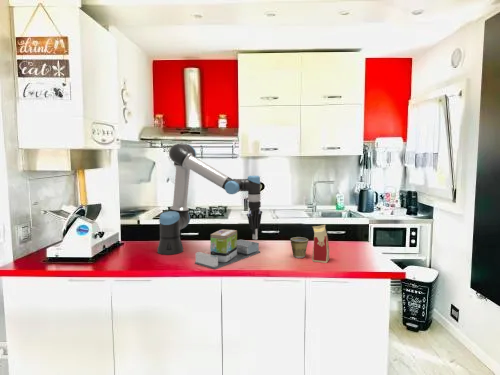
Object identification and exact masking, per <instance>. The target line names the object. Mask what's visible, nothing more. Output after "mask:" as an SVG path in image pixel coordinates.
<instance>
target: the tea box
mask: <svg viewBox="0 0 500 375" xmlns="http://www.w3.org/2000/svg"><path fill="white" fill-rule="evenodd" d="M237 240H238V230H237V229H236V230H235V229H224V228H221V229H219V230H217V231H215V232H213V233H210V250H209V251H210V255H214V256H218V262H227V261H229V260H230V259H232V258H233V257H235V256H236V255H237Z"/></svg>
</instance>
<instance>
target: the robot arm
mask: <svg viewBox="0 0 500 375" xmlns="http://www.w3.org/2000/svg"><path fill="white" fill-rule="evenodd" d="M168 152H169V153H168V155H169V159H170V160H171V161H172V162H173V165H174V167H175V175H174V176H175V177H174V178H175V179H174V190H173V200H172V205H171V206H170V208H169V210H170V211H169V210H168V211H165V212H162V213H160V215H159V220H158V222H159V241H158V245H157V253H158V254H159V255H176V254H180V253H183V252H184V246H183V242H182V240H181V230H182V229H185V228H186V227H187V226H188V225H189V224H190V222H191V214H190V213H189V210H190V209H189V207H188V206H187V205H188V195H189V185H190V184H189V183H190V172H191V171H192V172H194V173H195V174H197V175H199V176H201V177H203V178H204V179H206V180H208V181H209V182H211V183H213V184H215V185H216V186H217V187H219V188H221V189H223V190H224V191H225V192H226V193H227V194H228V195H235V194H237V193H239V192H247V200H248V202H247V203H248V206H247V207H248V208H249V210H248V213H246V216H247V222H248V226H249V229H251V234H252V240H259V239H258V233H259V232H258V230H260V227H261V222H262V221H261V220H262V214H263V211H262V210H261V209H260V208H261V207H262V206H261V205H262V204H261V177H260V176H259V175H248V176H247V178H231V177H230V176H227V175H226V174H224V173H223V172H221V171H219V170H217V169H215V168H214V167H212V166H211V165H209V164H207V163H206V162H204V161H202V160H200V159H199V158H197V151H196V149H195V148H194V146H192V145H190V144H187V143H176V144H174V145H172V146H171V147H170V149H169V151H168Z"/></svg>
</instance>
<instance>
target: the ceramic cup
mask: <svg viewBox="0 0 500 375" xmlns="http://www.w3.org/2000/svg"><path fill="white" fill-rule="evenodd" d="M308 243H309V239H308V238H306V237H301V236H296V237H291V238H290V246H291V252H292V257H293V258H296V259H303V258H305V257H306V253H307V247H308Z"/></svg>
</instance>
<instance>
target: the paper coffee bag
mask: <svg viewBox="0 0 500 375" xmlns="http://www.w3.org/2000/svg"><path fill="white" fill-rule="evenodd" d="M326 226H327V225H326V224H321V225H317V226H316V225H314V226H312V229H313V233H314V234H313V235H314V236H313V246H312V255H311V260H312V262H316V263H324V264H327V263H328V261H330V245H329V237H328V234H327V229H326Z"/></svg>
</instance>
